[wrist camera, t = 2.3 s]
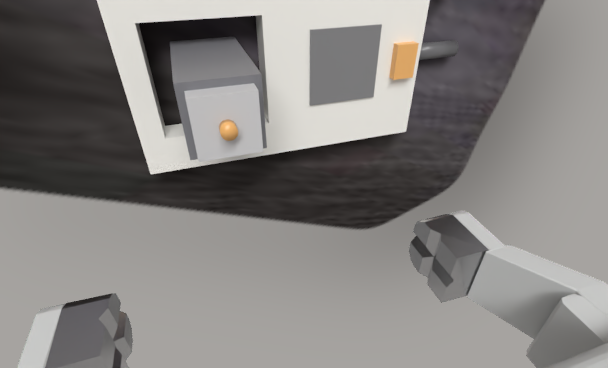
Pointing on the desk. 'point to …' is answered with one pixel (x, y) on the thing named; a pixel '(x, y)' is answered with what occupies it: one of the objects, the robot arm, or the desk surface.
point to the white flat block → (289, 69)
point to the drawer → (218, 98)
